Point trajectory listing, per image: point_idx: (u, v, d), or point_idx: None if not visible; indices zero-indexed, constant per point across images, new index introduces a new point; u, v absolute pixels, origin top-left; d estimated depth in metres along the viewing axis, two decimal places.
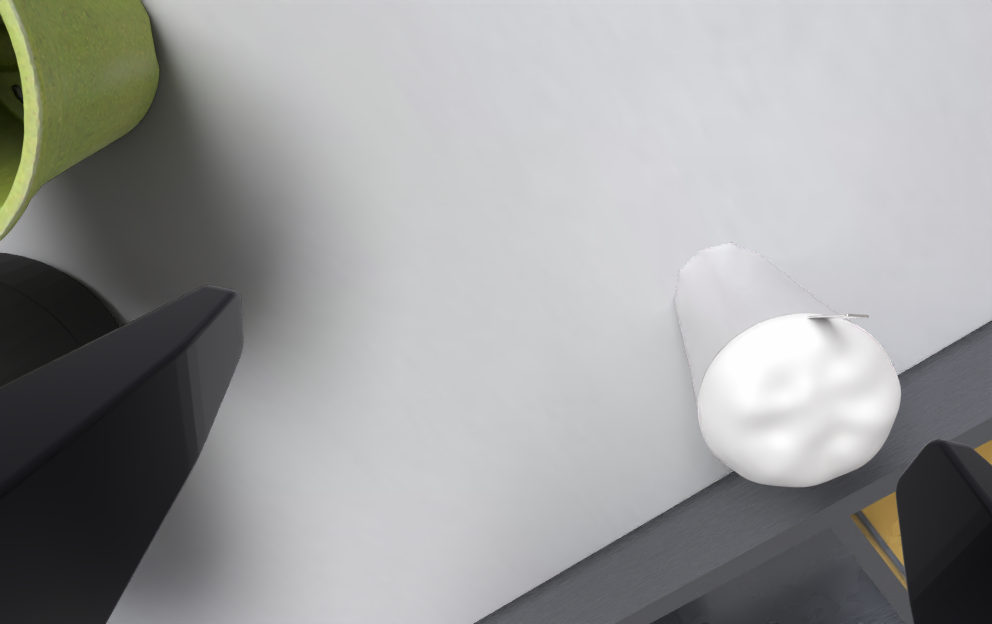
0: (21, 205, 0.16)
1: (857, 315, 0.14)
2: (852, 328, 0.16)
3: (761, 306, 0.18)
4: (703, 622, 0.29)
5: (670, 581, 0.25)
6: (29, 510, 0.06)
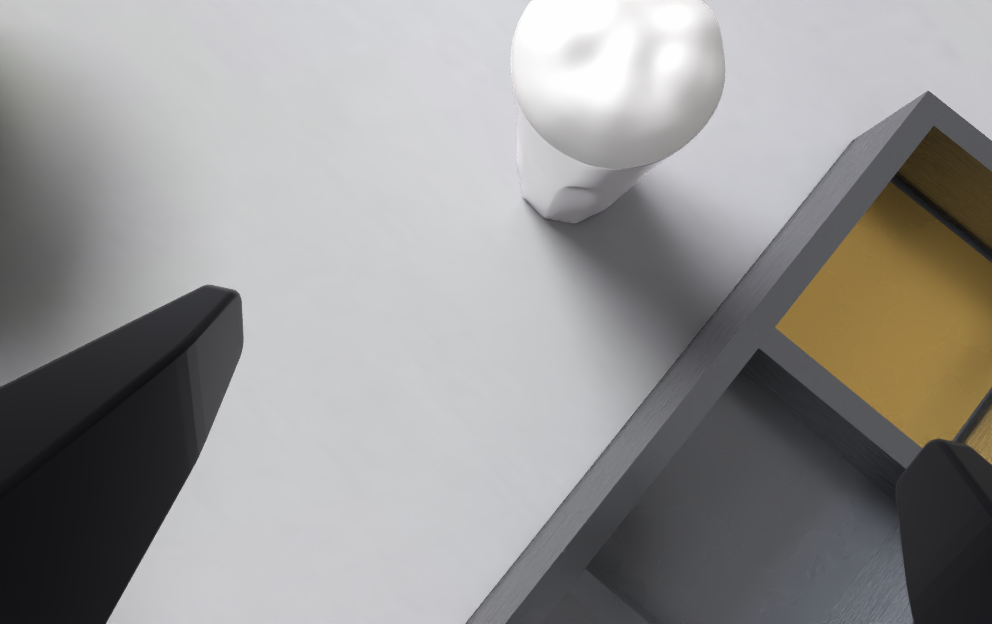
0: None
1: None
2: None
3: None
4: (686, 616, 0.21)
5: (603, 492, 0.19)
6: (29, 510, 0.06)
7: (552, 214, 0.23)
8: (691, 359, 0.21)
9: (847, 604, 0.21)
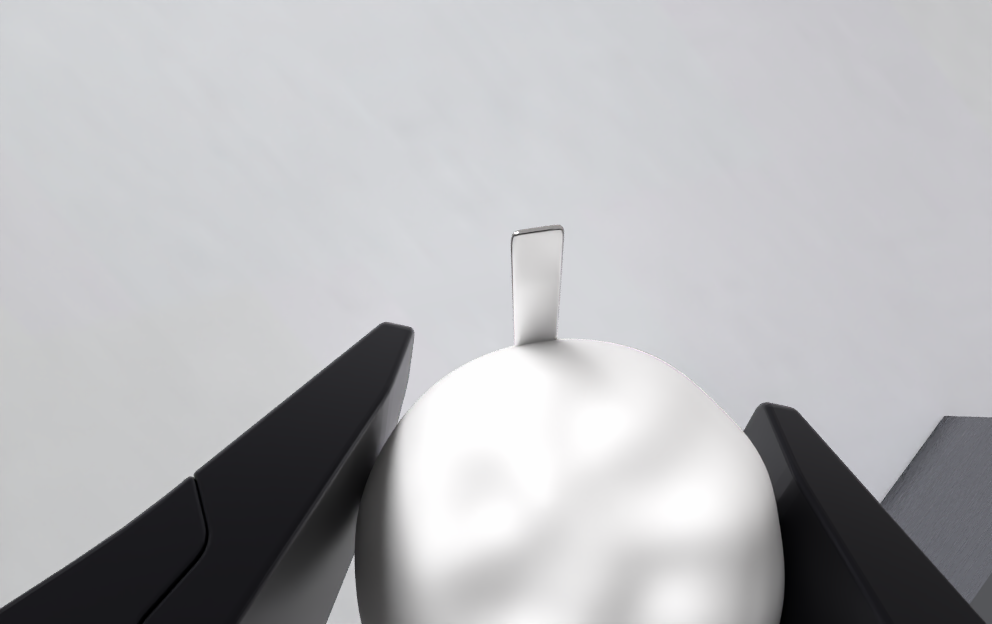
0: None
1: (535, 229, 0.06)
2: (609, 346, 0.08)
3: None
4: None
5: None
6: (293, 565, 0.06)
7: None
8: None
9: None
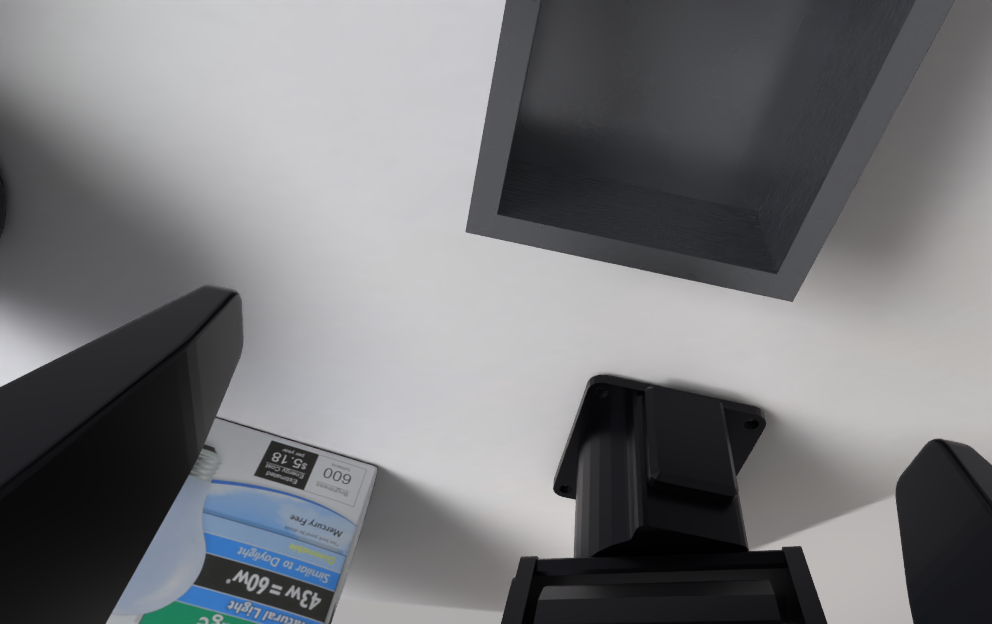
0: None
1: None
2: None
3: None
4: None
5: None
6: (29, 510, 0.06)
7: None
8: None
9: None
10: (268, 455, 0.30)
